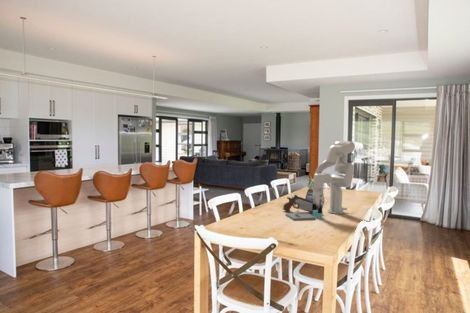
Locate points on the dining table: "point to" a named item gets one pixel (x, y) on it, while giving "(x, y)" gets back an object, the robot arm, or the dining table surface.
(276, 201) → the dining table surface
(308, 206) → the gun
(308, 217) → the board
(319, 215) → the teal rectangular block
